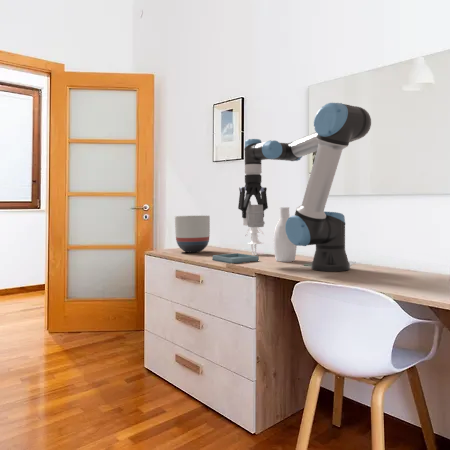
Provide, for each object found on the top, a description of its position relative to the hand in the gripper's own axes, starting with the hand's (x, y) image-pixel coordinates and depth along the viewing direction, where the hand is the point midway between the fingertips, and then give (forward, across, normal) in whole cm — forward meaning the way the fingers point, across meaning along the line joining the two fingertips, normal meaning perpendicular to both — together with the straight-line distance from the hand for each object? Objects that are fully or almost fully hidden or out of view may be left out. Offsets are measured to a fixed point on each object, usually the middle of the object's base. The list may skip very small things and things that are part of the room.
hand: (253, 225), depth 191 cm
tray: (+18, 0, -15) cm, 24 cm away
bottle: (+18, -18, +1) cm, 26 cm away
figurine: (+19, -23, -30) cm, 42 cm away
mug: (+1, 0, 0) cm, 1 cm away
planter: (+19, -3, -65) cm, 68 cm away
